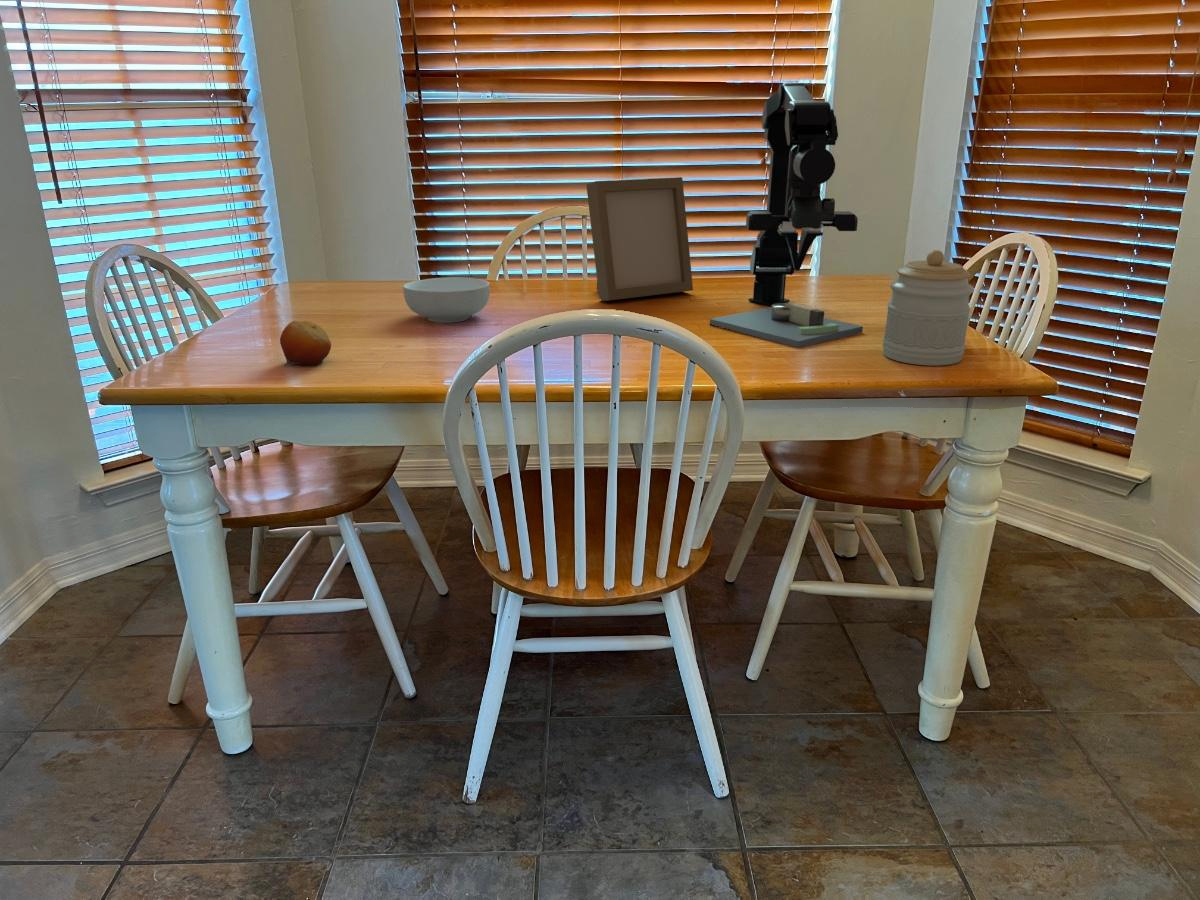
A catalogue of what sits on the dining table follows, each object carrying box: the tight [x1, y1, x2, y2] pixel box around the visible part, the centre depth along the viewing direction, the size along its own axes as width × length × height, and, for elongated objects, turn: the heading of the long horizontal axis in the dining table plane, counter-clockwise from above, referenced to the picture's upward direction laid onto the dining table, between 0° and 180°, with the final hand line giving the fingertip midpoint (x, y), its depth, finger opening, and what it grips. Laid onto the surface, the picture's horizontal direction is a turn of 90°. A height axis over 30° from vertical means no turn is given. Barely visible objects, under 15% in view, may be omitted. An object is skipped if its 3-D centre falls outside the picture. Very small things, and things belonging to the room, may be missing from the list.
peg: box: [771, 301, 825, 327], centre depth 162 cm, size 12×5×3 cm, turn 28°
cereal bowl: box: [402, 276, 491, 324], centre depth 172 cm, size 17×17×7 cm
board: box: [709, 306, 864, 349], centre depth 163 cm, size 18×22×2 cm
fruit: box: [279, 320, 332, 367], centre depth 141 cm, size 8×8×8 cm
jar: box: [882, 249, 975, 367], centre depth 142 cm, size 13×13×18 cm
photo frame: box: [586, 176, 694, 302], centre depth 191 cm, size 15×22×25 cm
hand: (796, 270), depth 156 cm, fingers closed
